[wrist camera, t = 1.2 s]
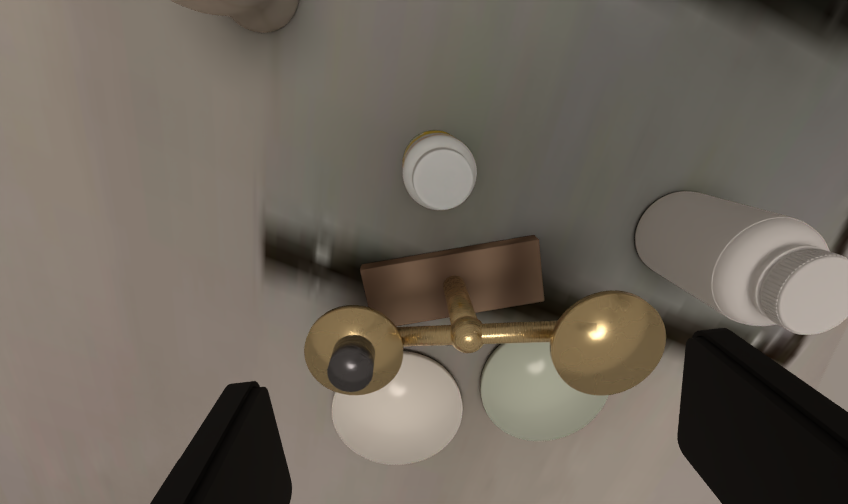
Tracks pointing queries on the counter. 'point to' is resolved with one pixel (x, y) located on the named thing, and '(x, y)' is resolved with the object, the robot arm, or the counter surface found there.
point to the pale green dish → (533, 394)
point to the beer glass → (248, 12)
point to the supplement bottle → (438, 170)
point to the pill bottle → (745, 262)
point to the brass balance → (475, 292)
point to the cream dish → (402, 414)
